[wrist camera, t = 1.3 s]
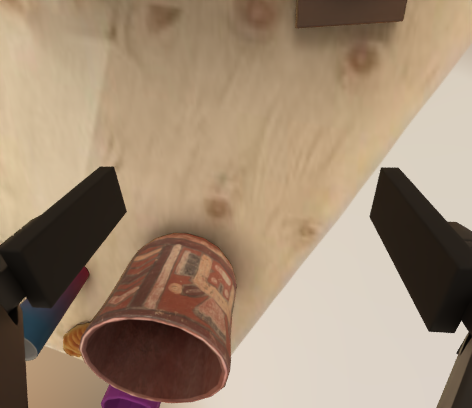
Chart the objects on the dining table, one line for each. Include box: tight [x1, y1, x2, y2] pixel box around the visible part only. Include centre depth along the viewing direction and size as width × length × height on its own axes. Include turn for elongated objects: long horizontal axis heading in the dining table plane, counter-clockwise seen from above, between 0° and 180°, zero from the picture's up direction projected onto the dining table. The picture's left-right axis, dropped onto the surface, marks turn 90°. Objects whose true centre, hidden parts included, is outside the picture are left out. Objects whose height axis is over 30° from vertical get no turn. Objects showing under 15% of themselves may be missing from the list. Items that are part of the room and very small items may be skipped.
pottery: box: [79, 233, 237, 403], centre depth 42 cm, size 18×18×18 cm
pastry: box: [63, 322, 90, 357], centre depth 61 cm, size 9×7×4 cm
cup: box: [20, 266, 89, 361], centre depth 47 cm, size 7×7×15 cm
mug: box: [101, 384, 161, 408], centre depth 52 cm, size 9×16×15 cm, turn 160°
